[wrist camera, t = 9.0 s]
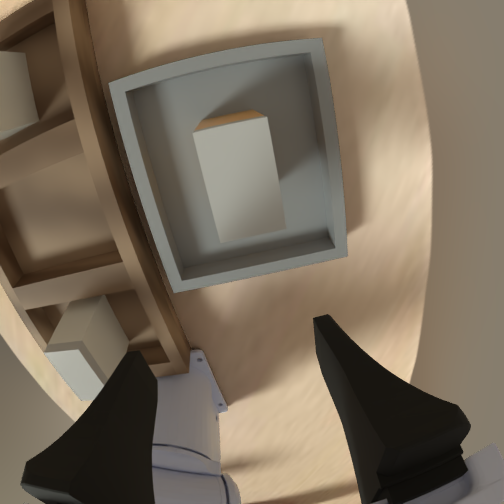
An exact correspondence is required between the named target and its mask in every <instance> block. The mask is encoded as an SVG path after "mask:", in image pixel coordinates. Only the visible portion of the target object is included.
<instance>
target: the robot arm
mask: <svg viewBox="0 0 504 504" xmlns="http://www.w3.org/2000/svg"><path fill="white" fill-rule="evenodd" d="M313 323H314V334H315V345H316V354H317V358H318V361H319V365H320V368H321V372H322V375H323V377H324V380H325V382H326V385H327V387H328V389H329V392H330V394H331V397H332V399H333V402H334V404H335V406H336V409H337V411H338V414H339V416H340V419H341V422H342V425H343V428H344V432H345V435H346V439H347V443H348V447H349V450H350V454H351V458H352V462H353V466H354V470H355V475H356V479H357V483H358V488H359V493H360V498H361V503H362V504H500V503H502V502H503V501H504V459H503V457H502V455H501V453H500V452H499V449H498V447H497V446H496V444H495V443H491V444H490V445H488V446H486V447H485V448H483V449H481V450H480V451H478V452H476V453H475V454H473V455H471V456H469V457H468V458H467V459H465V460H463V458H462V456H461V454H463V450H462V448H461V446H460V444H461V443H462V441H463V440H464V438H465V437H466V435H467V434H468V432H469V430H470V428H471V424H470V423H469V421H468V419H467V417H466V416H465V414H464V413H463V411H462V410H461V409H460V408H459V406H458V405H456V404H452V403H450V402H447V401H444V400H442V399H439V398H437V397H434V396H432V395H430V394H428V393H426V392H423V391H422V390H420V389H418V388H416V387H414V386H412V385H411V384H409V383H407V382H405V381H403V380H402V379H400V378H399V377H397V376H396V375H394V374H393V373H391V372H390V371H388V370H387V369H385V368H384V367H383V366H381V365H380V364H379V363H378V362H376V361H375V360H374V359H373V358H372V357H370V356H369V355H368V354H367V353H366V352H365V351H363V350H362V349H361V348H360V347H359V346H358V345H357V344H356V343H355V342H354V341H353V340H352V339H351V338H350V337H349V336H348V335H347V334H346V333H345V332H344V331H343V330H342V329H341V328H340V327H339V325H338V324H337V323H336V322H335V321H334V320H333V318H332V317H331V316H330V315H328V314H327V315H323V316H319V317H315V318H313ZM198 358H201V359H198ZM226 411H228V406H227V404H226V402H225V400H224V398H223V395H222V393H221V391H220V389H219V386H218V384H217V382H216V380H215V378H214V375H213V373H212V371H211V368H210V366H209V364H208V361H207V359H206V357H205V354H204V352H203V351H202V350H199V349H196V350H191V351H190V367H189V373H186V374H178V375H171V376H162V377H155V375H154V374H153V372H152V371H151V369H150V367H149V366H148V364H147V362H146V360H145V359H144V357H143V355H142V354H141V352H140V350H137V351H130V352H127V353H126V354H125V355H124V357H123V358H122V360H121V361H120V363H119V364H118V366H117V367H116V369H115V370H114V372H113V373H112V375H111V376H110V378H109V379H108V381H107V382H106V384H105V385H104V387H103V388H102V390H101V391H100V392H99V394H98V395H97V396H96V398H95V399H94V400H93V402H92V403H91V404H90V406H89V407H88V408H87V410H86V411H85V412H84V413H83V414H82V415H81V417H80V418H79V419H78V420H77V421H76V422H75V423H74V424H73V425H72V426H71V427H70V428H69V429H68V430H67V431H66V432H65V433H64V434H63V435H62V436H61V437H60V438H59V439H58V440H56V441H55V442H54V443H53V444H52V445H51V446H49V447H48V448H46V449H45V450H44V451H42V452H41V453H39V454H38V455H36V456H35V457H33V458H32V459H30V460H29V461H27V462H26V465H25V469H24V473H23V477H22V481H21V486H22V488H23V489H24V490H25V491H26V492H28V493H29V494H31V495H32V496H34V497H35V498H37V499H39V500H40V501H42V502H44V503H45V504H241V497H240V492H239V489H238V487H237V485H236V483H235V482H234V481H233V479H232V478H231V477H230V475H228V474H225V473H221V462H220V458H221V455H220V433H219V413H222V412H226ZM23 504H27V503H23Z"/></svg>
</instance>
